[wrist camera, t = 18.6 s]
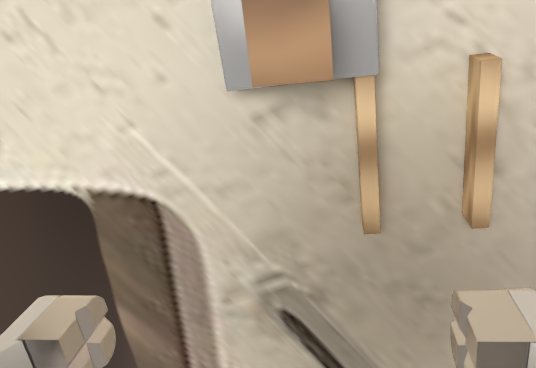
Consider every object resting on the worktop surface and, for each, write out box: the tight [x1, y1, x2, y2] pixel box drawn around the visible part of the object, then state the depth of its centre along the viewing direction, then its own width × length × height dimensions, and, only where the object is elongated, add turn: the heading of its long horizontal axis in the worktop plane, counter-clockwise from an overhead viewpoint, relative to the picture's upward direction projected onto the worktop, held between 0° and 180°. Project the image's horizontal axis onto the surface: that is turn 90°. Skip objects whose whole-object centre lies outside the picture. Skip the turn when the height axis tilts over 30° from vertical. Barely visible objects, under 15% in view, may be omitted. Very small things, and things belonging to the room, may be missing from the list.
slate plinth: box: [211, 0, 379, 91], centre depth 28 cm, size 10×10×3 cm
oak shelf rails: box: [354, 53, 502, 234], centre depth 31 cm, size 12×9×2 cm
